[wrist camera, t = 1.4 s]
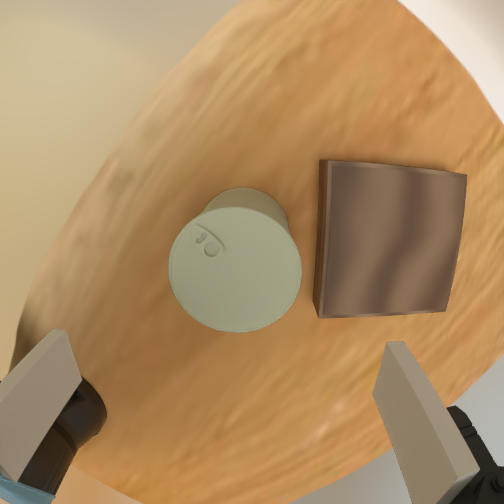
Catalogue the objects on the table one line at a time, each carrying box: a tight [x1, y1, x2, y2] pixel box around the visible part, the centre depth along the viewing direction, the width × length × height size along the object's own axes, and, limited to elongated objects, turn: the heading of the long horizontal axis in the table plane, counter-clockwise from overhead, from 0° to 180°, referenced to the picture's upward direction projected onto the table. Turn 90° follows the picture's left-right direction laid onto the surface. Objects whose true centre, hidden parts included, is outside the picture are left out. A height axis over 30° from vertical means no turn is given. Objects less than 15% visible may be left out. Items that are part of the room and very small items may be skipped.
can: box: [168, 188, 302, 333], centre depth 26 cm, size 9×9×12 cm
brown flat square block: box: [313, 160, 467, 318], centre depth 30 cm, size 15×15×4 cm
